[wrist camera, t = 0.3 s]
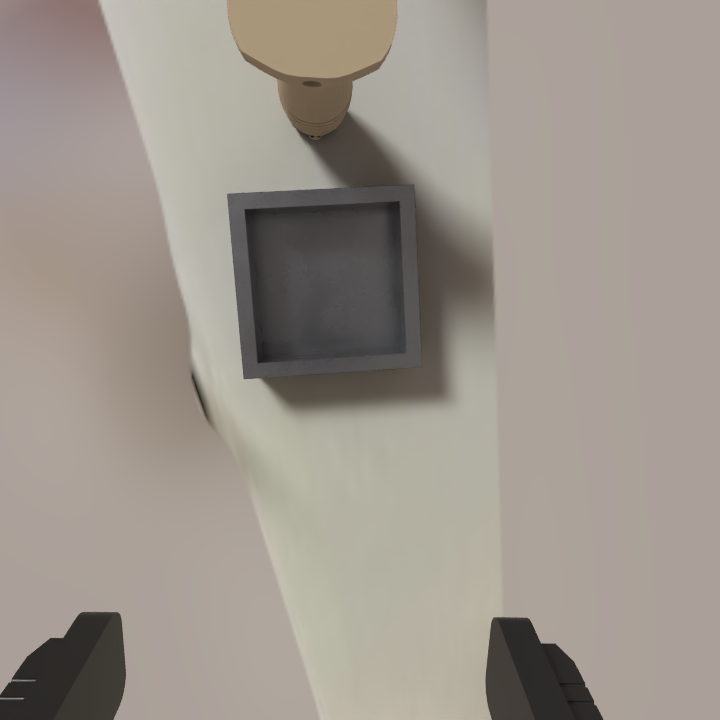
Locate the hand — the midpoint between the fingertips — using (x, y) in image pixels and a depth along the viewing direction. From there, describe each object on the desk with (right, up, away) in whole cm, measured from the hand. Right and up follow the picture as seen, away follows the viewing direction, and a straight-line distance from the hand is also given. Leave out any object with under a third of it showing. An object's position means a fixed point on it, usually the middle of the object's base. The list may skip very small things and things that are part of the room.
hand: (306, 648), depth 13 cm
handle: (-2, +22, +24) cm, 33 cm away
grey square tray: (-1, +11, +26) cm, 28 cm away
